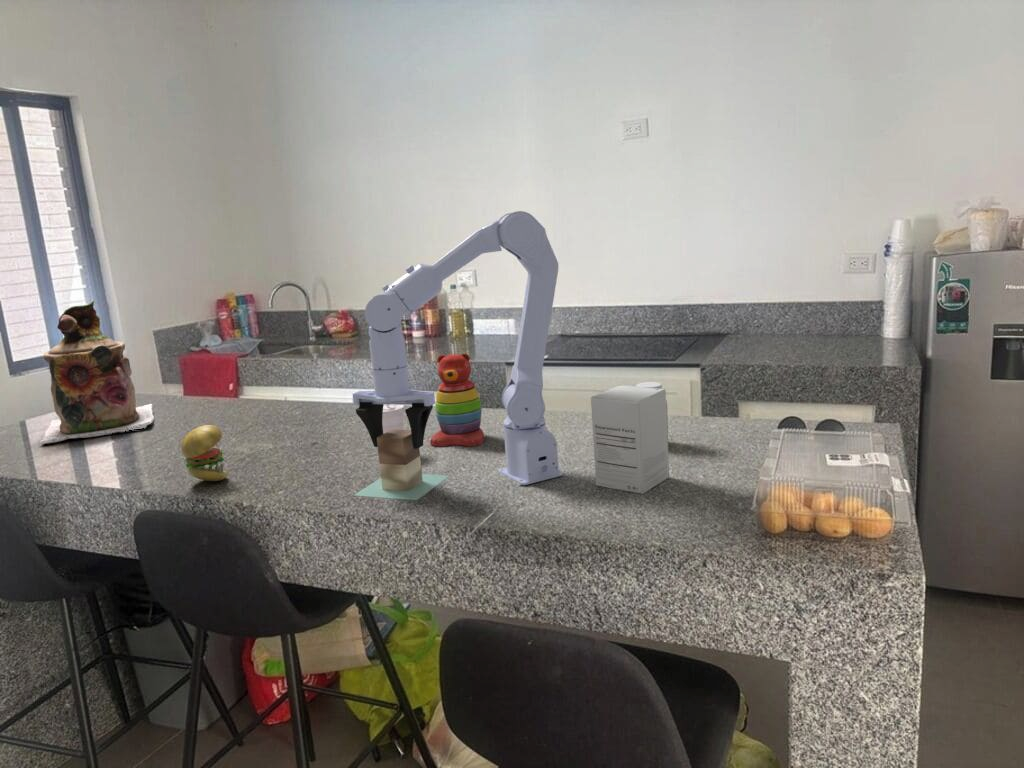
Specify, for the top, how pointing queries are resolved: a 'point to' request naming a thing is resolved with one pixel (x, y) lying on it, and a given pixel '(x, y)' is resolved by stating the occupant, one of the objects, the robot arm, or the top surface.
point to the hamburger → (204, 453)
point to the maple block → (401, 475)
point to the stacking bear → (457, 404)
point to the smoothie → (392, 417)
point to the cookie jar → (91, 381)
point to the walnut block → (396, 447)
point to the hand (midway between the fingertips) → (398, 446)
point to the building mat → (413, 494)
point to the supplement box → (630, 438)
